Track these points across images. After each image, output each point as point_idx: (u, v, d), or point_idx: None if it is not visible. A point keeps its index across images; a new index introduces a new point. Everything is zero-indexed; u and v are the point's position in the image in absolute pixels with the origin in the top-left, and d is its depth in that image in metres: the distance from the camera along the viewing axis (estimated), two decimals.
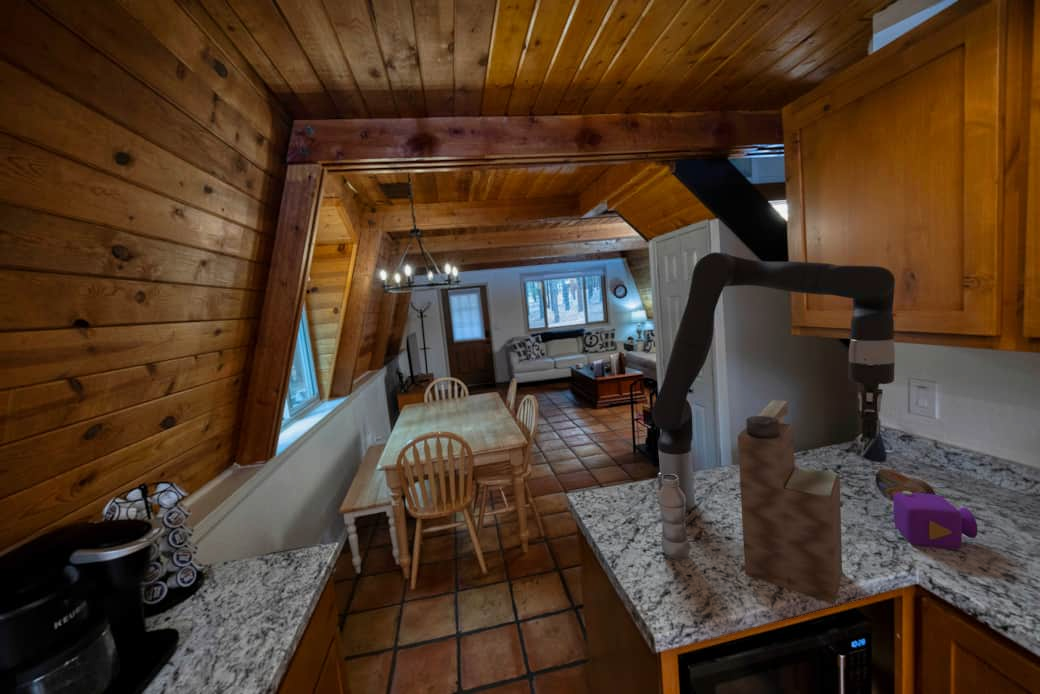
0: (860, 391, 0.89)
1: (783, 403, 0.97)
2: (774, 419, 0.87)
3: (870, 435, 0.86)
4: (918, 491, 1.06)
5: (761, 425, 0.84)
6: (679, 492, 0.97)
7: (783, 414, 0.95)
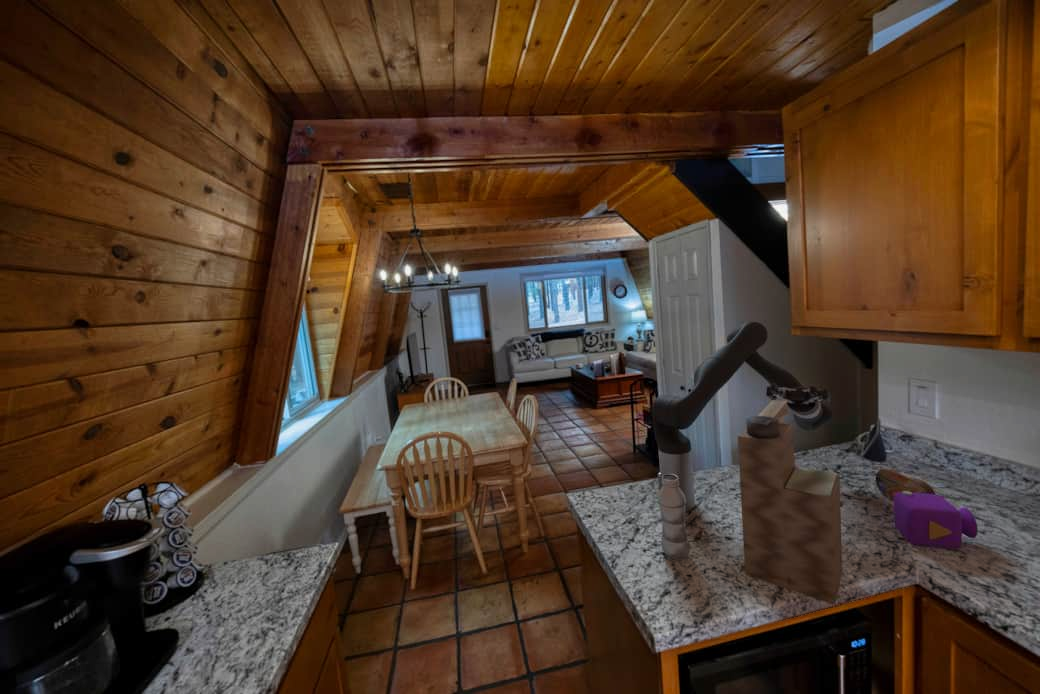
0: None
1: (783, 403, 0.97)
2: (774, 419, 0.87)
3: (816, 390, 1.06)
4: (918, 491, 1.06)
5: (761, 425, 0.84)
6: (679, 492, 0.97)
7: (783, 414, 0.95)
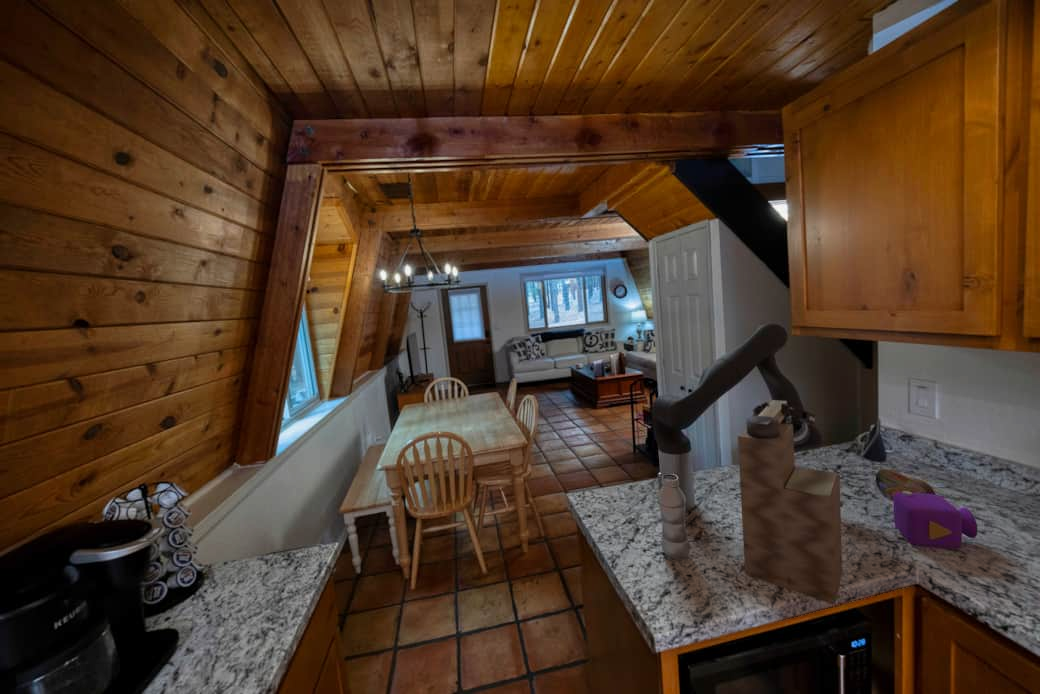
0: None
1: (783, 403, 0.97)
2: (774, 419, 0.87)
3: (788, 410, 0.94)
4: (918, 491, 1.06)
5: (761, 425, 0.84)
6: (679, 492, 0.97)
7: None
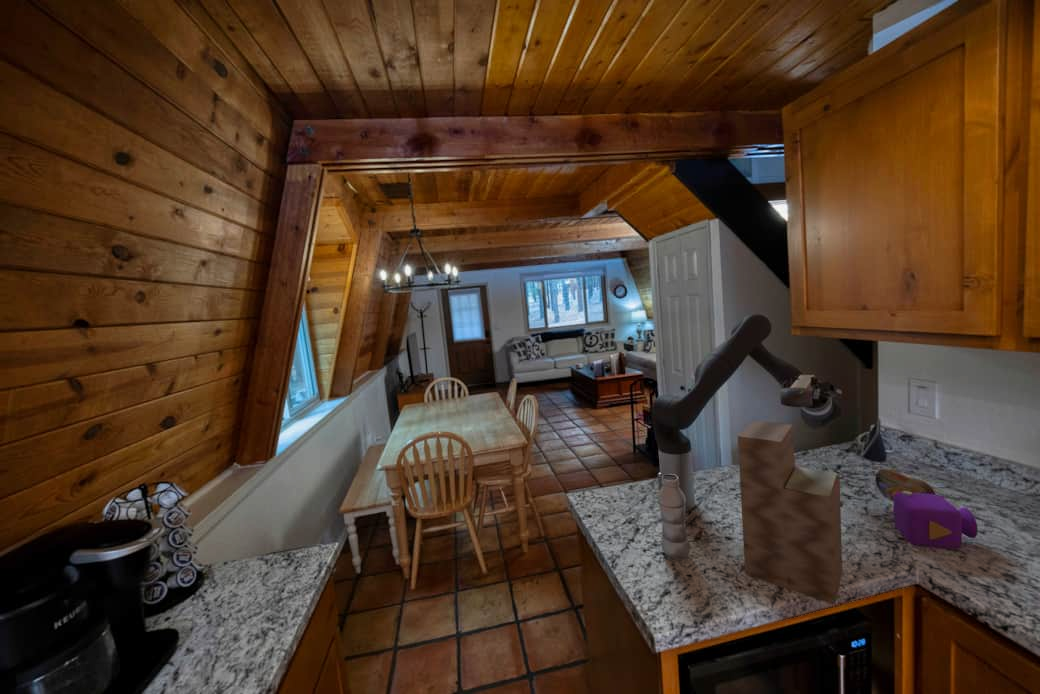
0: None
1: None
2: (807, 389, 0.92)
3: (817, 382, 0.99)
4: (918, 491, 1.06)
5: (796, 394, 0.90)
6: (679, 492, 0.97)
7: None
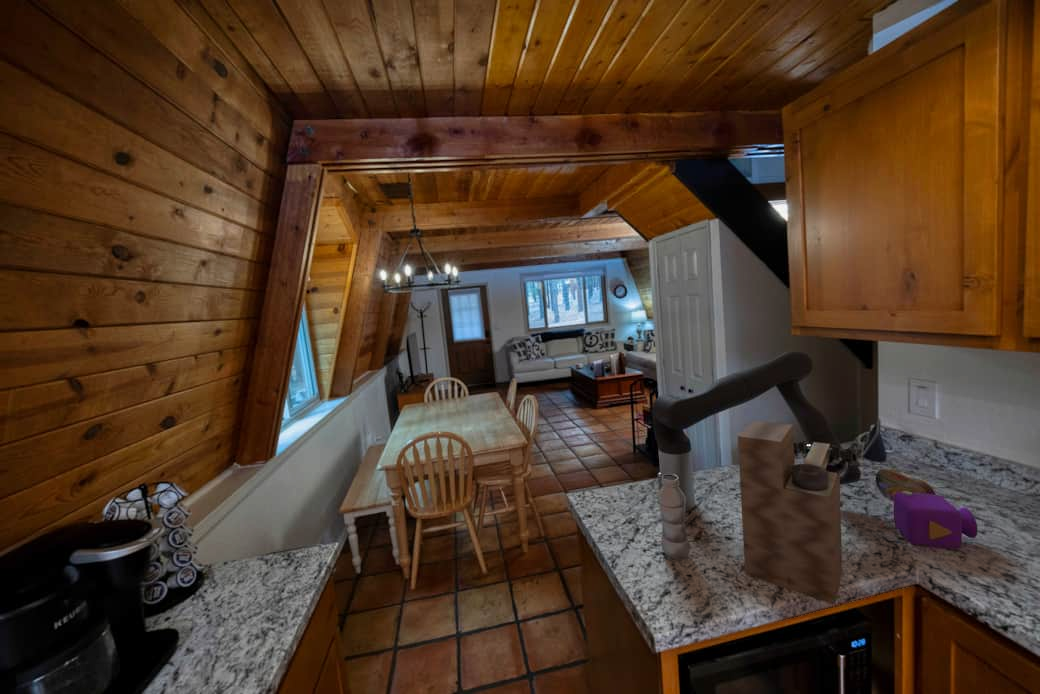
0: None
1: (826, 447, 0.92)
2: (822, 469, 0.82)
3: (839, 452, 0.88)
4: (918, 491, 1.06)
5: (809, 477, 0.80)
6: (679, 492, 0.97)
7: (827, 459, 0.91)
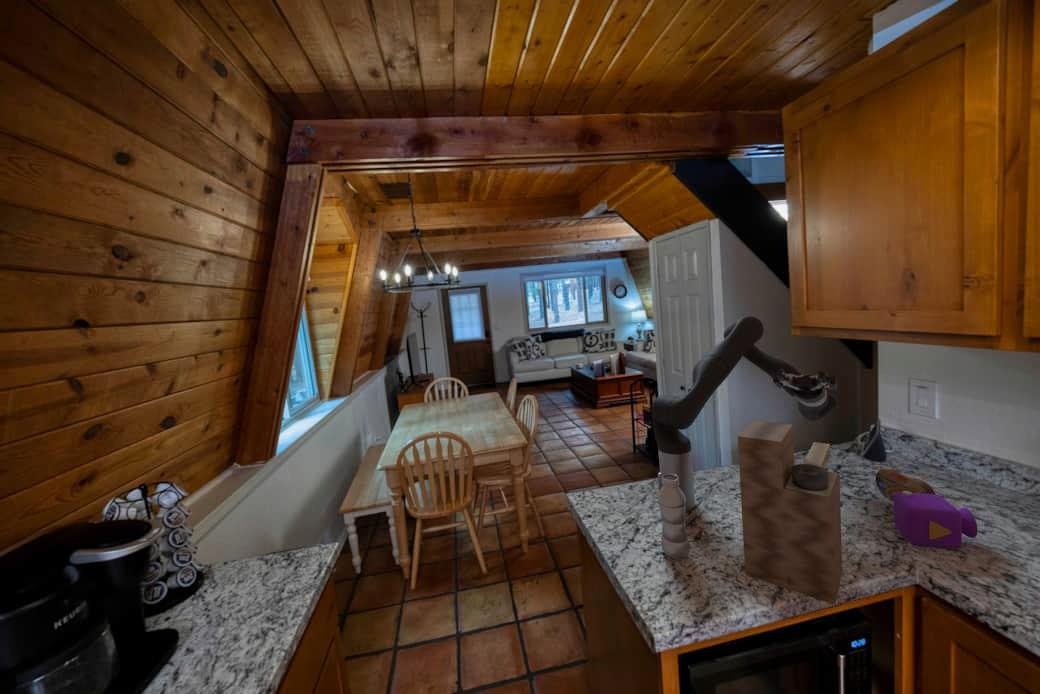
0: None
1: (826, 447, 0.92)
2: (822, 469, 0.82)
3: (824, 375, 1.05)
4: (918, 491, 1.06)
5: (809, 477, 0.80)
6: (679, 492, 0.97)
7: (827, 459, 0.91)
